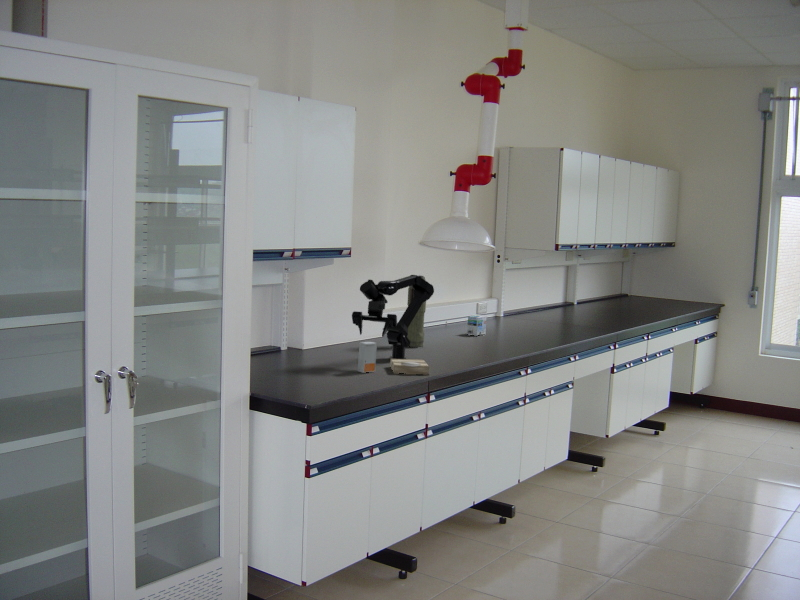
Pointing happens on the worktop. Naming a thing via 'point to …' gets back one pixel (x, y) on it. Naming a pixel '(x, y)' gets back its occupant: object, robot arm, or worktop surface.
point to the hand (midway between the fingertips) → (371, 335)
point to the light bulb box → (476, 325)
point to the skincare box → (367, 357)
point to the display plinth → (409, 366)
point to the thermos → (416, 322)
